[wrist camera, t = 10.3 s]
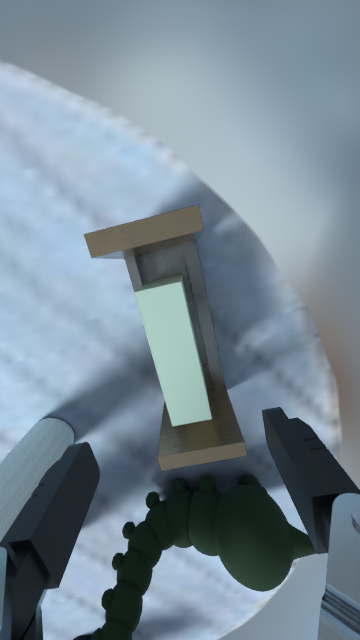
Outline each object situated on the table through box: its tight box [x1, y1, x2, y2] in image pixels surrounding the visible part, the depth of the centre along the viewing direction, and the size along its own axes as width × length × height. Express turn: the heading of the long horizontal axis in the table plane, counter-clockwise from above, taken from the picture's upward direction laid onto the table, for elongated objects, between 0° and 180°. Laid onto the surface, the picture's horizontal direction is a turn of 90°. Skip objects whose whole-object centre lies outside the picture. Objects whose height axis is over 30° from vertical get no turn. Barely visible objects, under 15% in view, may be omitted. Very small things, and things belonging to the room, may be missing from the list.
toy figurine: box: [92, 475, 316, 640], centre depth 25 cm, size 9×19×25 cm
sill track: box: [84, 204, 247, 471], centre depth 22 cm, size 21×8×10 cm, turn 13°
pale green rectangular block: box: [134, 274, 212, 426], centre depth 21 cm, size 12×4×9 cm, turn 13°
